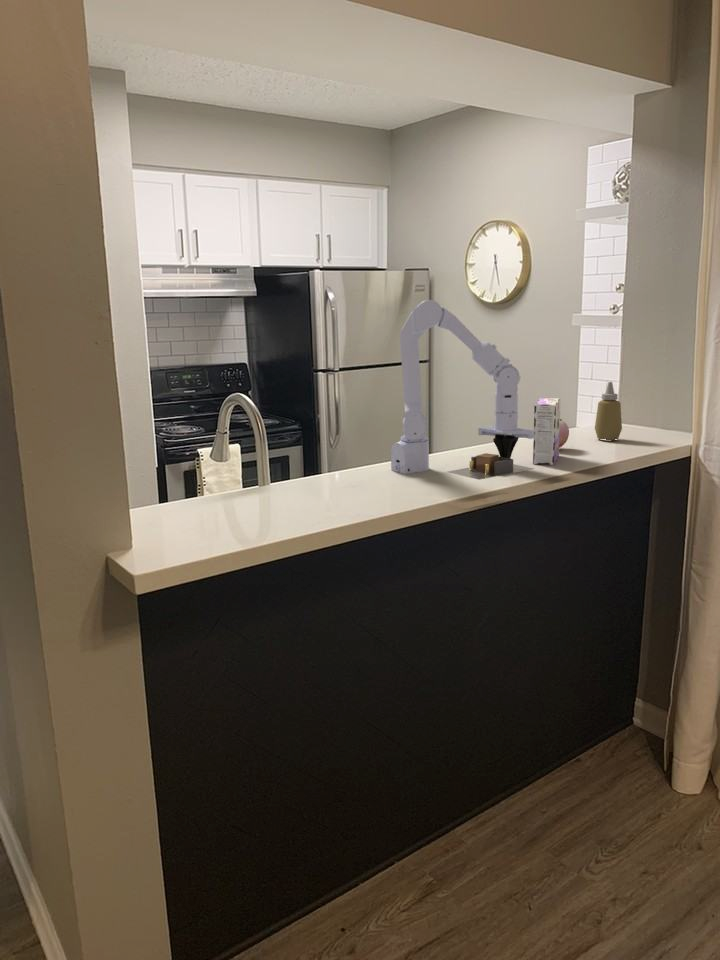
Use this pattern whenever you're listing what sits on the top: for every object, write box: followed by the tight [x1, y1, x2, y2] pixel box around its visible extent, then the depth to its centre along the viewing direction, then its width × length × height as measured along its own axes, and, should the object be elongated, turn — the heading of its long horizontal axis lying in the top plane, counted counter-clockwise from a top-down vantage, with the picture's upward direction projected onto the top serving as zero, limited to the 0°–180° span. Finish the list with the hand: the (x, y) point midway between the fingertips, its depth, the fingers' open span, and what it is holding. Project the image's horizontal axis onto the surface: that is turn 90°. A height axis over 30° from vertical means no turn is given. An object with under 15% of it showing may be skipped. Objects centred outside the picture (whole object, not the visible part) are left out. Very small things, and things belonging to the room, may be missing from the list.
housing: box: [470, 455, 514, 474], centre depth 198 cm, size 6×9×3 cm, turn 34°
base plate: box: [446, 459, 535, 480], centre depth 198 cm, size 19×12×4 cm, turn 124°
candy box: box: [532, 397, 561, 466], centre depth 213 cm, size 14×6×16 cm, turn 161°
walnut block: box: [475, 452, 500, 473], centre depth 197 cm, size 4×4×4 cm
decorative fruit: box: [559, 418, 570, 449], centre depth 228 cm, size 9×8×10 cm
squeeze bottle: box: [594, 381, 623, 440], centre depth 240 cm, size 8×8×18 cm
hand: (505, 464), depth 201 cm, fingers closed
